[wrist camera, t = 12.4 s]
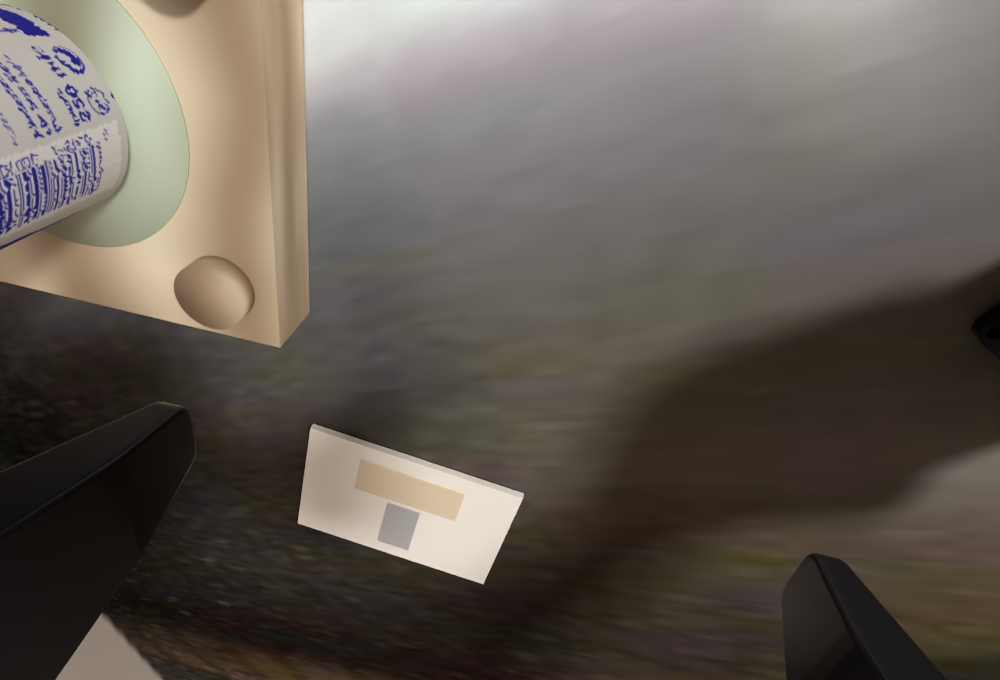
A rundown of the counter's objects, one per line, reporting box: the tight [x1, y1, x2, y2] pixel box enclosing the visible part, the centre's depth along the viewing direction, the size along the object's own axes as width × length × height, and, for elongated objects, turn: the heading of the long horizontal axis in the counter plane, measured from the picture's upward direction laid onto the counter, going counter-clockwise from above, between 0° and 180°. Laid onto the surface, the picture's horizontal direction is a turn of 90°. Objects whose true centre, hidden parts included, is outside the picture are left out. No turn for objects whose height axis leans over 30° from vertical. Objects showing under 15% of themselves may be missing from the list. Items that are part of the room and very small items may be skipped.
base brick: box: [0, 0, 310, 348], centre depth 19 cm, size 14×14×3 cm
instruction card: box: [298, 424, 524, 584], centre depth 29 cm, size 10×7×1 cm
